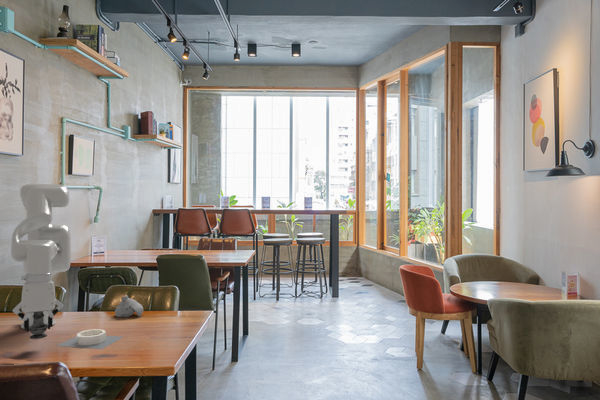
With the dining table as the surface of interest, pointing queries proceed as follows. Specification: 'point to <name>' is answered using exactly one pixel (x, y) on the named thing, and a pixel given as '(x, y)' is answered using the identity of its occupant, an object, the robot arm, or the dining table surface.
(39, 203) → the robot arm
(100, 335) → the white round dish
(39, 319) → the dark grey chess piece
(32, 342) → the dining table surface
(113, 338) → the board
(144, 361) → the dining table surface
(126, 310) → the grey clay mound
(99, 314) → the dining table surface
